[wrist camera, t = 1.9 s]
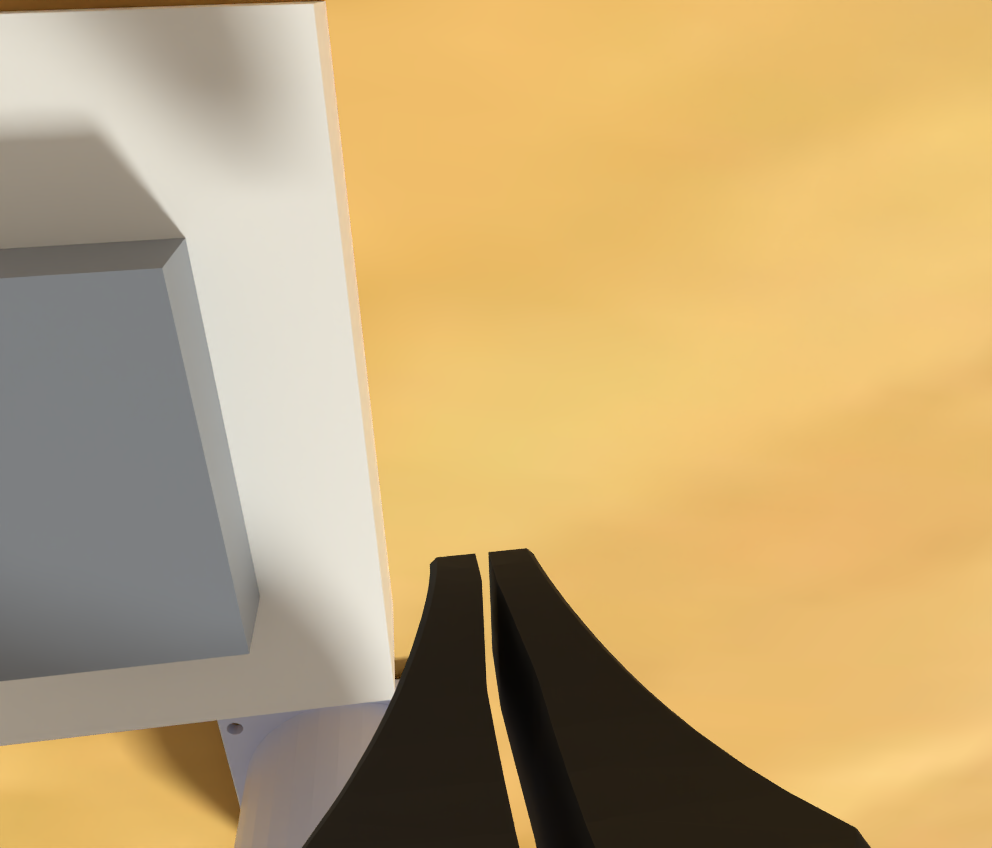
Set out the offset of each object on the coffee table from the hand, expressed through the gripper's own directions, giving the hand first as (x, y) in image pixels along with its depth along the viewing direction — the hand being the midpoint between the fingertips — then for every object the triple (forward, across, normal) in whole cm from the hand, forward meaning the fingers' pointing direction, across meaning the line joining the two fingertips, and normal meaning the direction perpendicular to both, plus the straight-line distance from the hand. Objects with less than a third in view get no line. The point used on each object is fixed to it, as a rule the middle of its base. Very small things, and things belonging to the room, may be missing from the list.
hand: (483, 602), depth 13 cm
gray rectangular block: (+6, +8, 0) cm, 10 cm away
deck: (+10, +8, 0) cm, 13 cm away
